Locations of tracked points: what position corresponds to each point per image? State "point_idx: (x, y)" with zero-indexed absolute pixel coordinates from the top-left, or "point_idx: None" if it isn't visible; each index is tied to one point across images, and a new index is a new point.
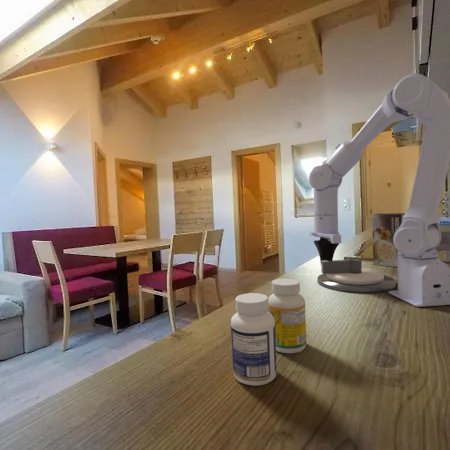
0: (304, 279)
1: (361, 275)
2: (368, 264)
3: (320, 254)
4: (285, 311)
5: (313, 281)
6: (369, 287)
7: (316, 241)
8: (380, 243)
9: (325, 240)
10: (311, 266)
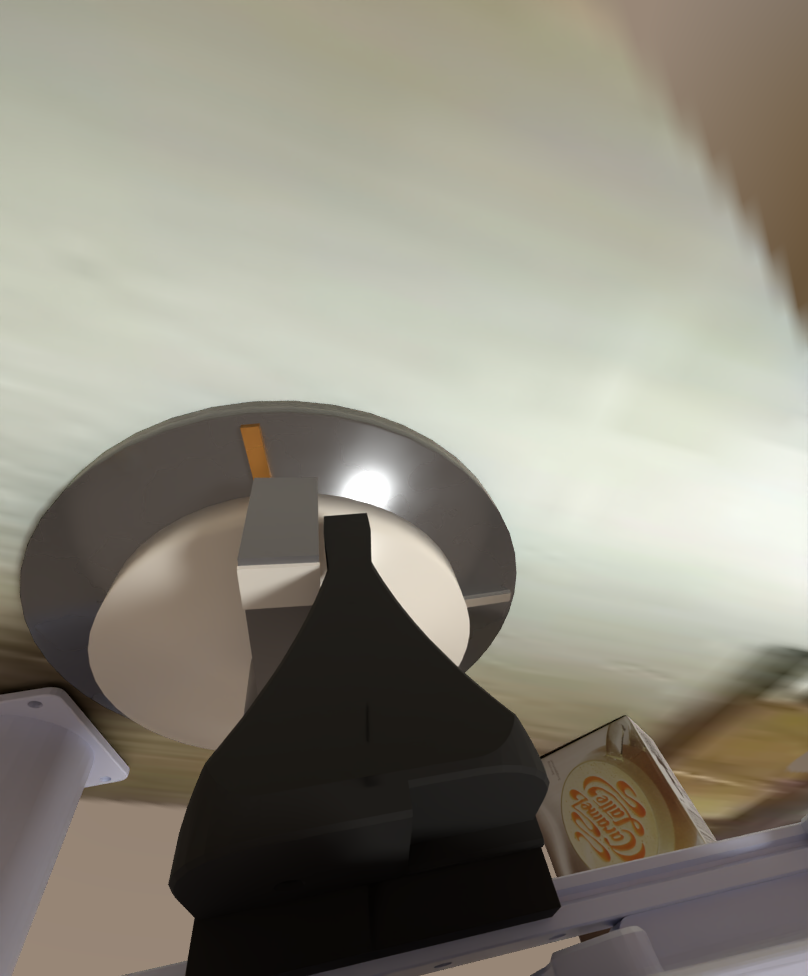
0: (460, 322)
1: (192, 678)
2: (637, 703)
3: (325, 611)
4: None
5: (376, 381)
6: (71, 648)
7: (266, 831)
8: (657, 854)
9: (204, 945)
10: (794, 477)
